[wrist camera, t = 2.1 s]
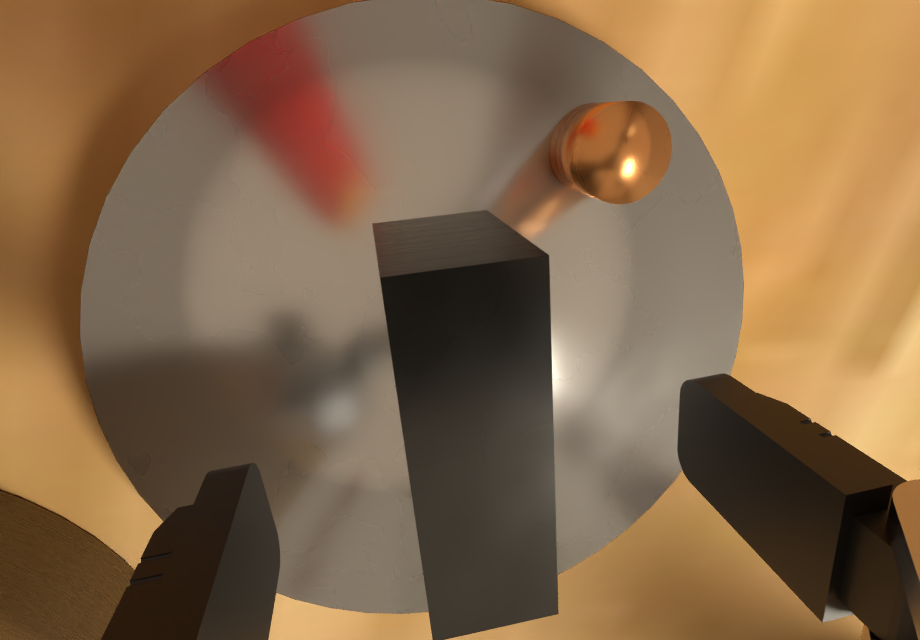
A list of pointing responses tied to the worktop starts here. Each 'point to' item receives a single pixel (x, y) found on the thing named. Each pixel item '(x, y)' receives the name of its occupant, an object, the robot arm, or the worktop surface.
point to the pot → (54, 576)
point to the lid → (415, 301)
